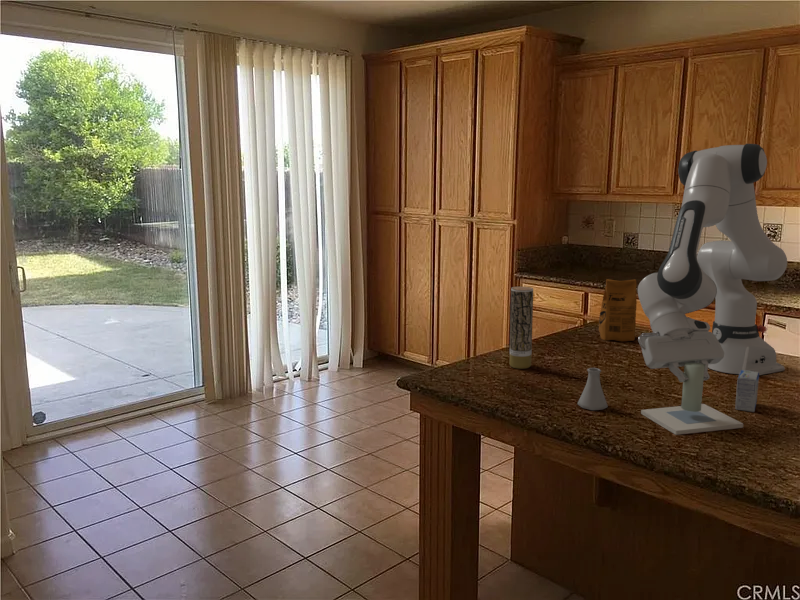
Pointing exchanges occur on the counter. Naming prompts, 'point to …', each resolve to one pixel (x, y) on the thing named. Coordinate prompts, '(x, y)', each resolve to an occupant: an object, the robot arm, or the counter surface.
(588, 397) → the flask
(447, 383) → the counter surface
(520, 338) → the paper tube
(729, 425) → the card
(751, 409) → the medicine box
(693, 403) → the pale green cylinder
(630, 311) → the coffee package
